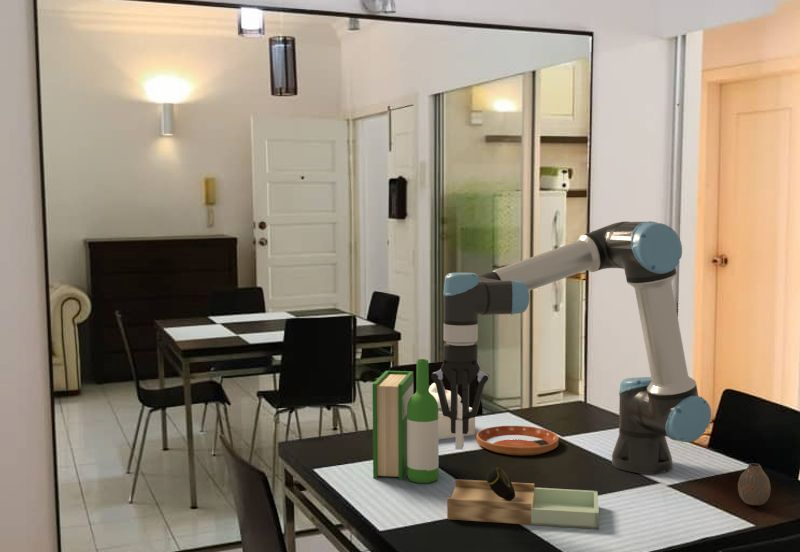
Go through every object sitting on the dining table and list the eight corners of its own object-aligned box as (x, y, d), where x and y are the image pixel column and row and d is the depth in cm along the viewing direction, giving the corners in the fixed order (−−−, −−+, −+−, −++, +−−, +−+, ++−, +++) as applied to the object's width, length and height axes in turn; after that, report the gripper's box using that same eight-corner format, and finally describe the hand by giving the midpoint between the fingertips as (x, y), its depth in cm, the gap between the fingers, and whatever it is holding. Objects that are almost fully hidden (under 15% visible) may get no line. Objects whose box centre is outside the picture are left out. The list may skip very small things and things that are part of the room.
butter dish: (420, 445, 251) (420, 390, 250) (395, 431, 267) (395, 379, 266) (475, 439, 258) (475, 385, 257) (447, 425, 274) (447, 374, 273)
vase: (767, 509, 196) (768, 470, 196) (734, 504, 200) (735, 466, 199) (772, 500, 202) (773, 463, 201) (740, 495, 206) (741, 458, 205)
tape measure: (506, 506, 194) (519, 495, 193) (486, 491, 191) (499, 481, 190) (498, 485, 200) (510, 474, 199) (479, 470, 197) (491, 460, 196)
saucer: (571, 444, 252) (571, 431, 252) (538, 464, 233) (538, 450, 232) (498, 433, 264) (498, 421, 264) (462, 451, 245) (462, 438, 245)
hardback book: (402, 480, 219) (402, 384, 217) (373, 478, 220) (372, 383, 218) (413, 460, 236) (413, 371, 234) (386, 459, 237) (385, 370, 236)
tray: (597, 506, 199) (597, 491, 199) (598, 529, 185) (598, 513, 184) (534, 502, 202) (534, 487, 201) (531, 525, 187) (531, 508, 187)
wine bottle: (407, 474, 223) (407, 357, 221) (438, 474, 223) (438, 357, 221) (406, 484, 215) (406, 362, 213) (438, 484, 215) (438, 362, 213)
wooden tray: (534, 502, 201) (534, 483, 201) (531, 524, 188) (531, 503, 187) (456, 498, 205) (456, 479, 205) (447, 519, 191) (447, 498, 191)
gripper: (491, 341, 197) (490, 445, 199) (434, 339, 200) (433, 441, 202) (488, 346, 190) (487, 454, 192) (428, 344, 192) (427, 450, 194)
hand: (459, 447), depth 197 cm, fingers closed
